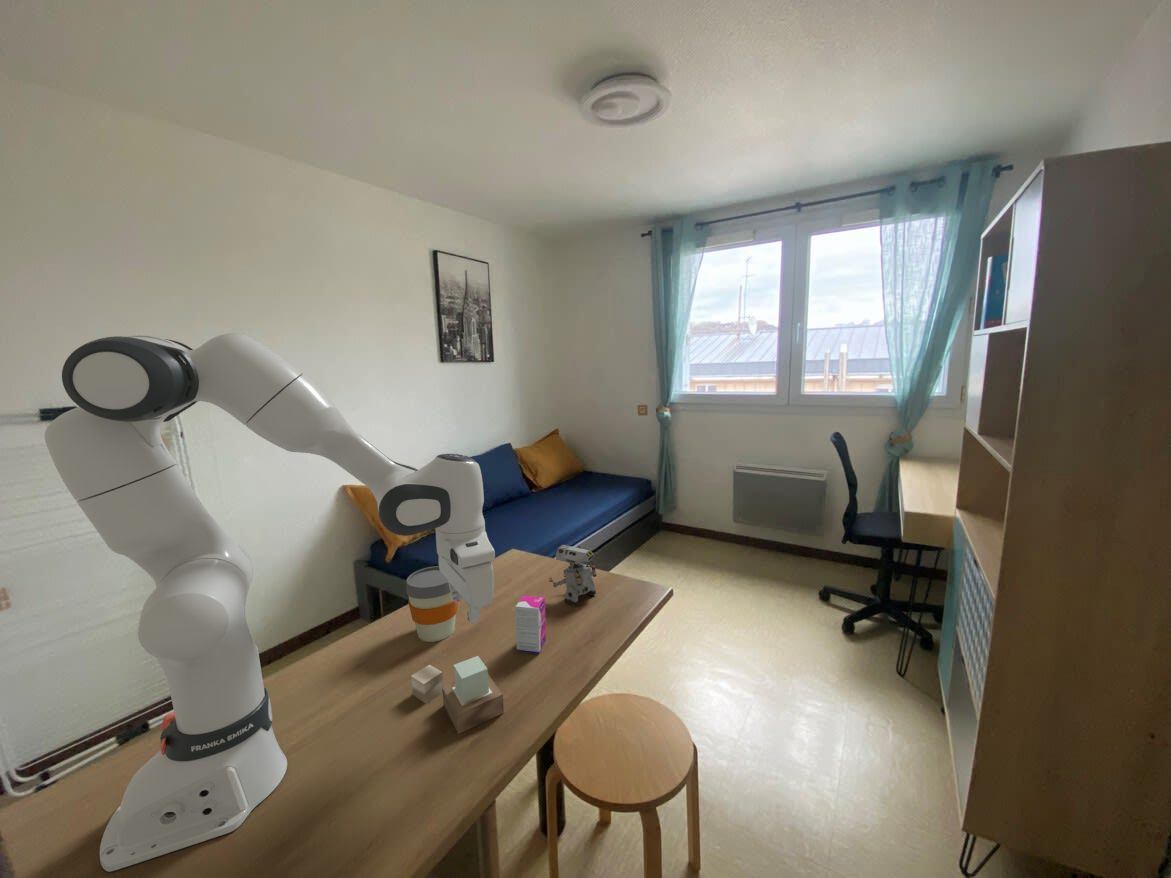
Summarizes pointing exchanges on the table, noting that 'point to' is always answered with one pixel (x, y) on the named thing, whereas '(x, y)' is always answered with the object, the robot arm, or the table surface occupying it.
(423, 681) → the block
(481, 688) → the sage block
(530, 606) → the supplement box
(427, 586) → the reusable coffee cup
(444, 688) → the walnut base
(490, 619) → the table surface
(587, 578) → the figurine
